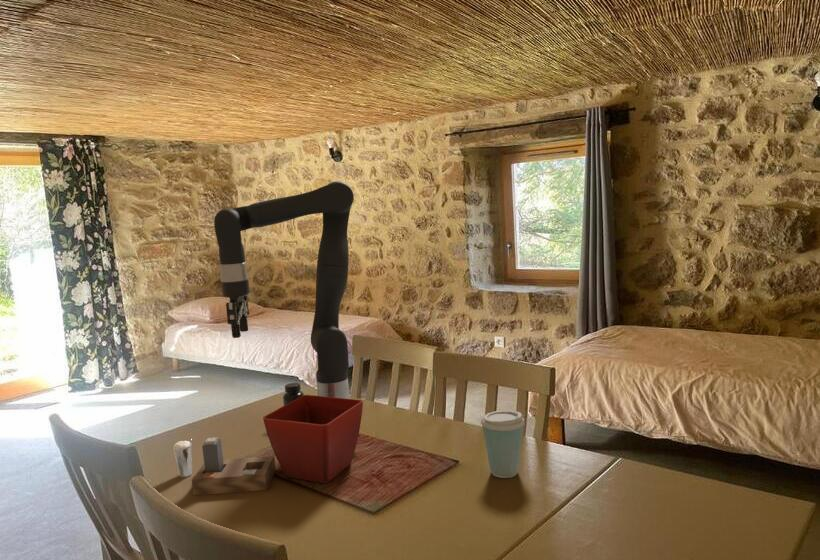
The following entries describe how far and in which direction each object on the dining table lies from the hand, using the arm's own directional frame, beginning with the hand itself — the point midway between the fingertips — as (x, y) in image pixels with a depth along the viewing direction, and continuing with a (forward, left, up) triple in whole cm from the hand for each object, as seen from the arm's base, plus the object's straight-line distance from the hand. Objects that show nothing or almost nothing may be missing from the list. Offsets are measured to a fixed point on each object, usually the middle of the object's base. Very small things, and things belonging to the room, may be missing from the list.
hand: (240, 334), depth 176 cm
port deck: (-2, +26, -33) cm, 42 cm away
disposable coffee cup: (-70, +31, -33) cm, 83 cm away
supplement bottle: (-10, -17, -33) cm, 39 cm away
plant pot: (-23, +22, -33) cm, 46 cm away
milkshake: (+13, +19, -33) cm, 40 cm away
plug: (+3, +25, -33) cm, 42 cm away
